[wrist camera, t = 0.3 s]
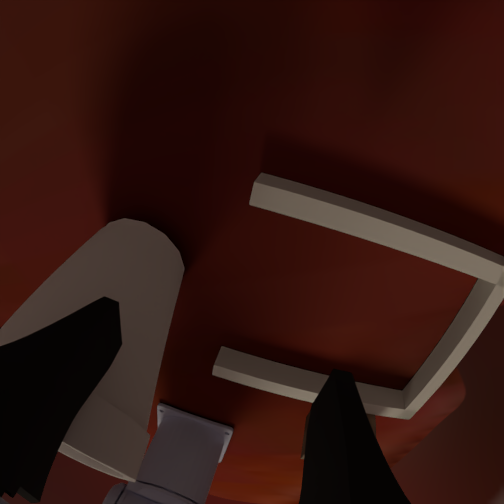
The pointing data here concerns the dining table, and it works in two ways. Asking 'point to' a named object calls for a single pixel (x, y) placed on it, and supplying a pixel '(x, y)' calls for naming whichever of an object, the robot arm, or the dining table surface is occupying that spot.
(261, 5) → the dining table surface
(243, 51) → the dining table surface
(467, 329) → the bay
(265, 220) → the dining table surface
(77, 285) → the foam cup
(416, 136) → the dining table surface
